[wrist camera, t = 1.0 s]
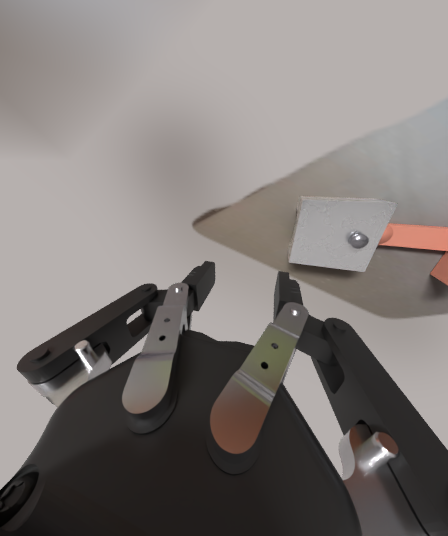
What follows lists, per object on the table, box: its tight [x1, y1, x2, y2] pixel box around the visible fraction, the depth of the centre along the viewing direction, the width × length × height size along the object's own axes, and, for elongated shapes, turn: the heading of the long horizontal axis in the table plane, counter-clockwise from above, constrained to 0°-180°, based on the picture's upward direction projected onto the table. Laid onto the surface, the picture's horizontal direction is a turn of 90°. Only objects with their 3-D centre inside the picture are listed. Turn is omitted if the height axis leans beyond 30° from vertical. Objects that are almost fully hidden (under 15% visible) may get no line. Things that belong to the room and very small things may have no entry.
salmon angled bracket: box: [378, 223, 448, 285], centre depth 21 cm, size 12×11×5 cm
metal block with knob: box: [287, 196, 398, 272], centre depth 24 cm, size 10×9×6 cm
